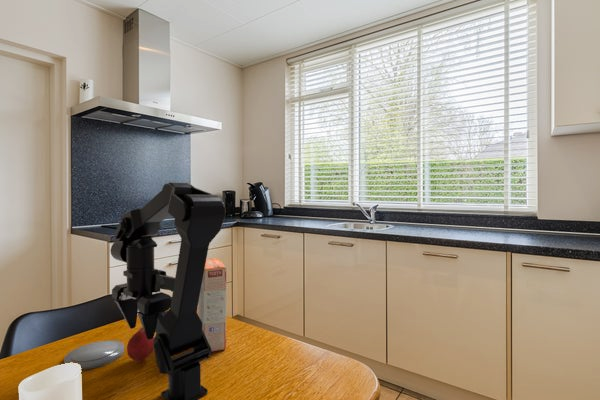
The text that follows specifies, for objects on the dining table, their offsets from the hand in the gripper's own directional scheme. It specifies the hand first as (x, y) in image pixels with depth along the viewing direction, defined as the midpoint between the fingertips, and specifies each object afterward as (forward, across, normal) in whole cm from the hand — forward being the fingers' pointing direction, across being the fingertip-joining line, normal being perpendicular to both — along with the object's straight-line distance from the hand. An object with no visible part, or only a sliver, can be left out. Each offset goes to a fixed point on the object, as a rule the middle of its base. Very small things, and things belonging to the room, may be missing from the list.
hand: (141, 333), depth 74 cm
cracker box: (+7, -3, -17) cm, 19 cm away
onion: (+7, 0, 0) cm, 7 cm away
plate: (+7, +11, +6) cm, 14 cm away
